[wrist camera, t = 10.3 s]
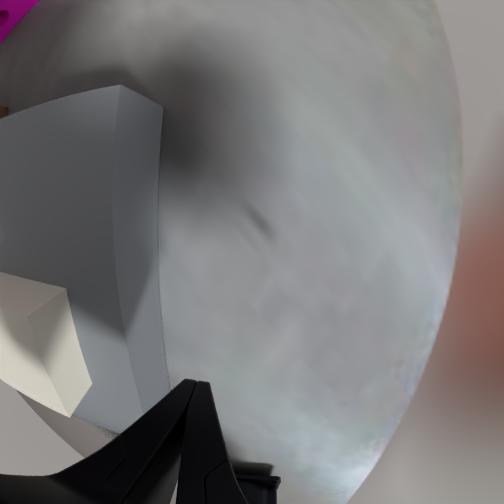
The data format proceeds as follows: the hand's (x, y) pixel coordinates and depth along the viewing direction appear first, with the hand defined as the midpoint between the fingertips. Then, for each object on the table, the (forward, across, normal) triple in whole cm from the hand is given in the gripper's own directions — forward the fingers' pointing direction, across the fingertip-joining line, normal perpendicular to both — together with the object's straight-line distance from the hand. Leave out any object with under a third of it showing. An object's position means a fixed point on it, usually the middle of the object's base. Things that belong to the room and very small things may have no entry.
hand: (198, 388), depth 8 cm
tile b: (+1, +8, 0) cm, 8 cm away
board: (+5, +9, -2) cm, 10 cm away
